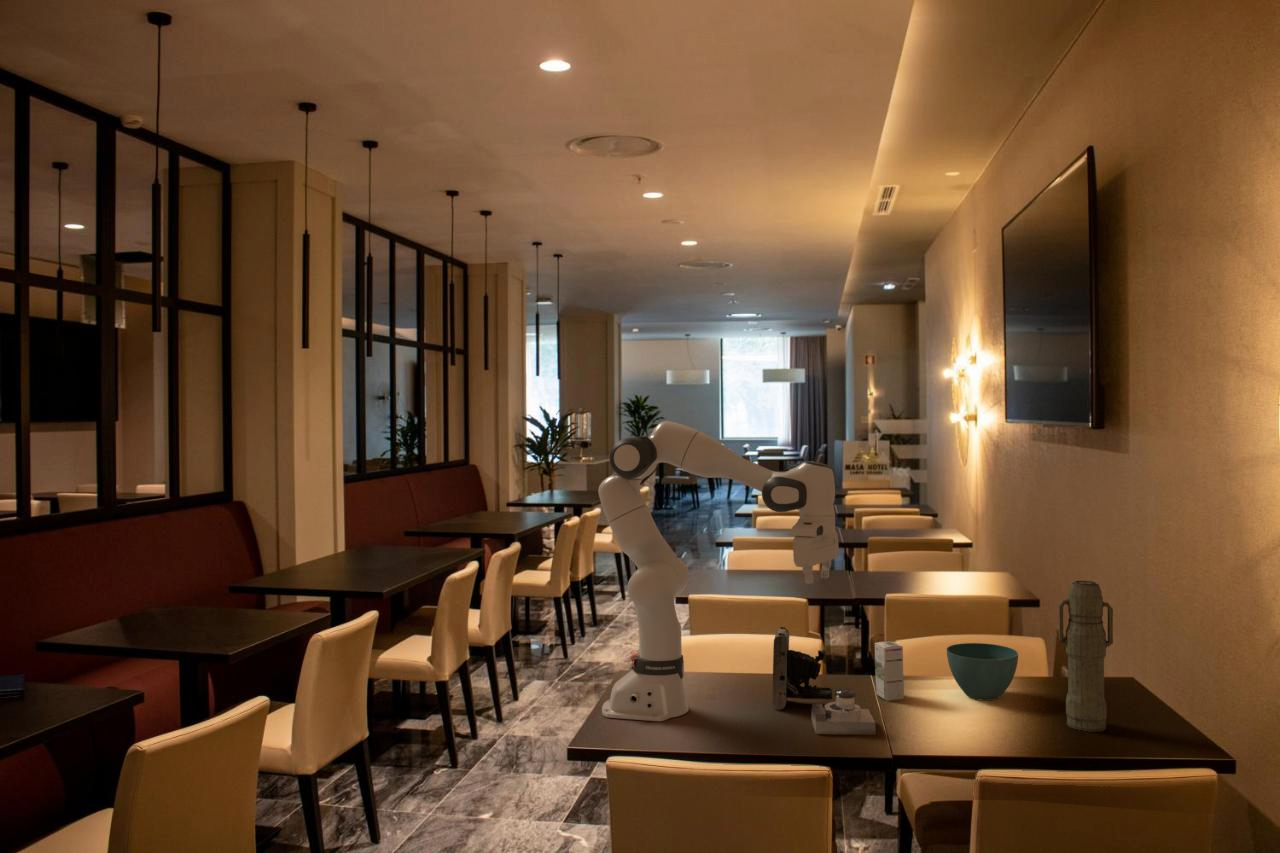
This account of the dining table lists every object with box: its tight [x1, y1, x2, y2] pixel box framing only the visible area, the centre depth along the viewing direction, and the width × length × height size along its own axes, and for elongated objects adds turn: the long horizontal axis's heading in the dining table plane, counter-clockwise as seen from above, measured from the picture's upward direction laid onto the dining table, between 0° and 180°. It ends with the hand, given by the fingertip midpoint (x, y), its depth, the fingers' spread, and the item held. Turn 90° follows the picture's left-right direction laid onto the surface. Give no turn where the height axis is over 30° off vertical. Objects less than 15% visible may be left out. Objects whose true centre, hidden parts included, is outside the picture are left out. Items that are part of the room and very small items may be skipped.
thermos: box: [1058, 580, 1114, 733], centre depth 229 cm, size 9×12×35 cm
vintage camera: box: [771, 626, 833, 711], centre depth 248 cm, size 10×16×20 cm, turn 78°
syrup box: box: [874, 640, 905, 702], centre depth 254 cm, size 6×6×14 cm
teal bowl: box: [946, 642, 1019, 701], centre depth 255 cm, size 18×18×12 cm
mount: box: [810, 701, 876, 736], centre depth 231 cm, size 14×10×5 cm
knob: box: [834, 687, 856, 711], centre depth 230 cm, size 5×5×6 cm
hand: (817, 580), depth 238 cm, fingers open, 8 cm apart
